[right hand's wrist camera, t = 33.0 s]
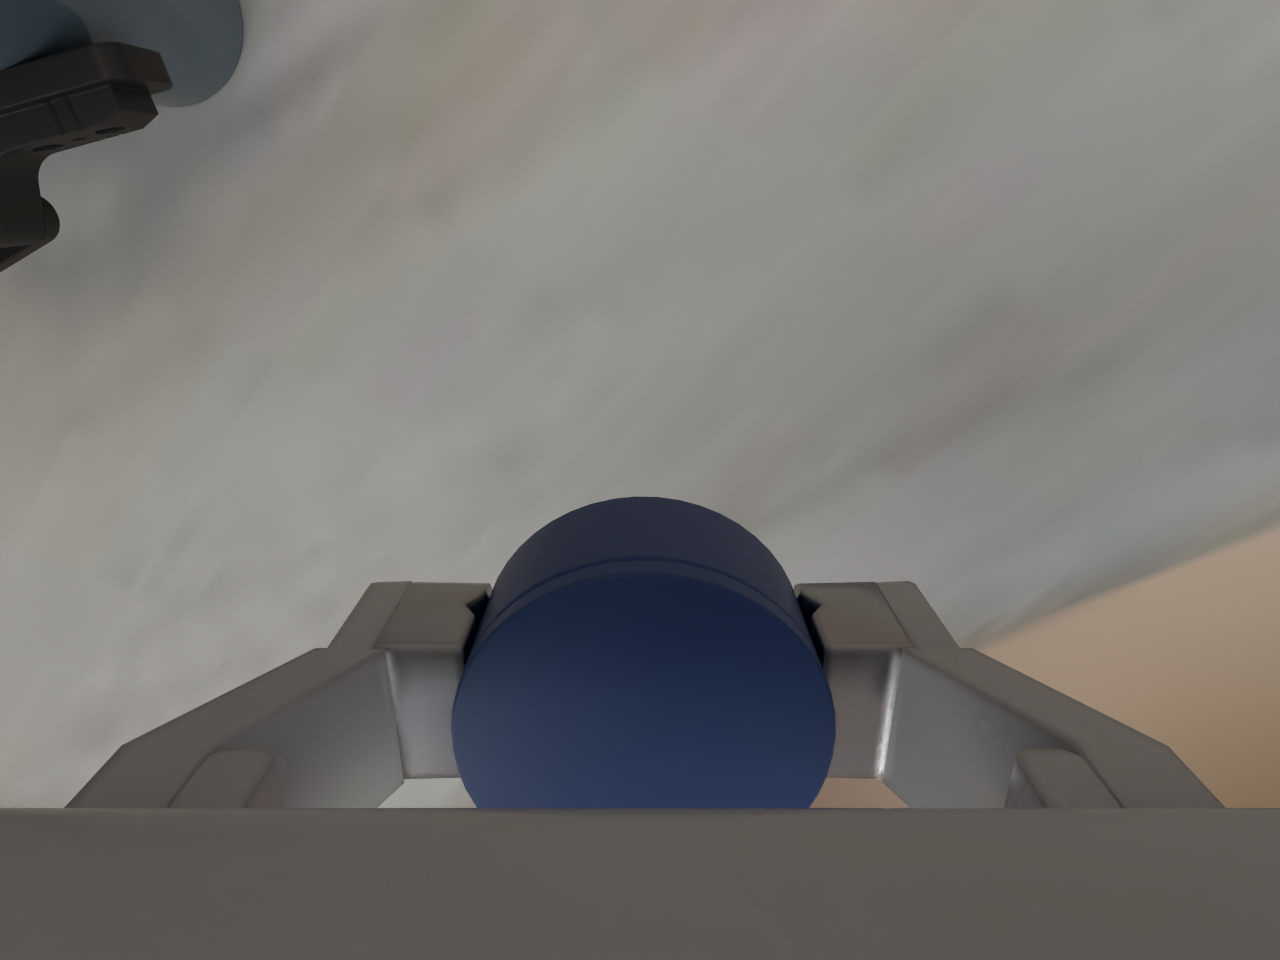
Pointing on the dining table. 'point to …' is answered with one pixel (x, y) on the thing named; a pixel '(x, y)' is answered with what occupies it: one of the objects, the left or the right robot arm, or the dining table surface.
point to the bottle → (133, 37)
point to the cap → (643, 670)
